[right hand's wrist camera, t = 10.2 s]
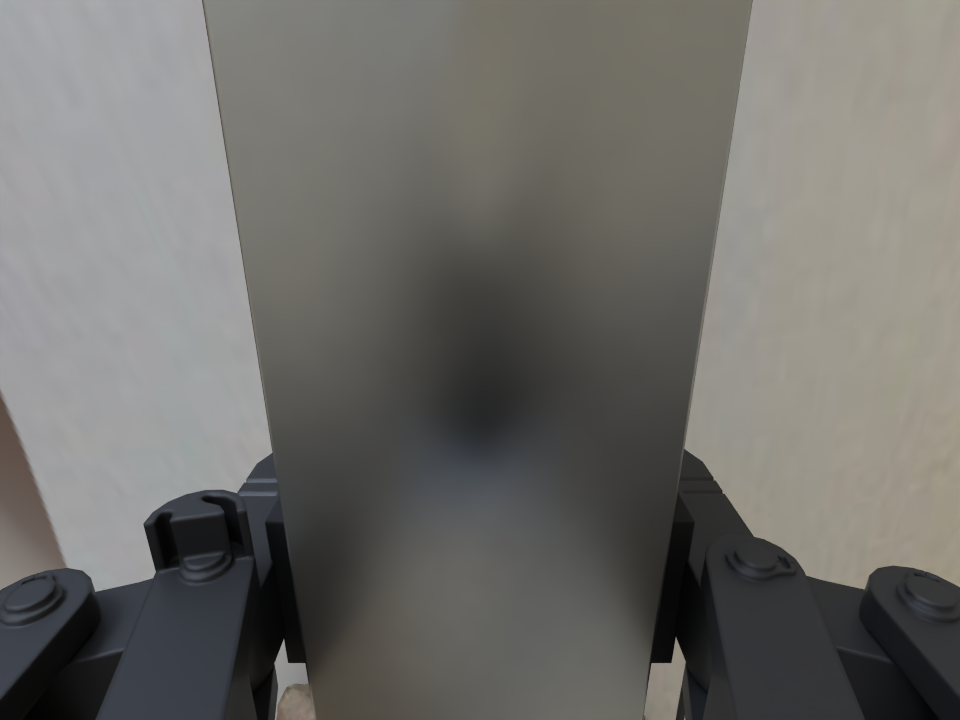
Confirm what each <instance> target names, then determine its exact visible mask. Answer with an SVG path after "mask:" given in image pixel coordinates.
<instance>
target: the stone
mask: <svg viewBox="0 0 960 720" xmlns="http://www.w3.org/2000/svg"><path fill="white" fill-rule="evenodd" d="M277 720H314V714H313V708H312V702H311V695H310V689H309V683H308V684H305V685H303V684H293V685H291V686H288V687H287V688H286V690H285V692H284V694H283V696H282V698H281V700H280V702H279V704H278V715H277ZM643 720H645V717H644V716H643Z"/></svg>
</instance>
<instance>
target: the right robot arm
mask: <svg viewBox="0 0 960 720" xmlns="http://www.w3.org/2000/svg"><path fill="white" fill-rule="evenodd" d="M144 528H145V532H146V536H147V539H148V543H149V547H150V551H151V555H152V559H153V562H154V566H155V570H156V573H155V576H154V578H153V579H149V580H146V581H142V582H139V583H134V584H130V585H125V586H121V587H116V588H112V589H107V590H103V591H98V592H95V590H94V586H93V583H92V580H91V578H90V577H89V576H88V575H87V574H86V573H84V572H83V571H81V570H75V569H69V568H64V569H56V570H48V571H44V572H41V573H37V574H35V575H31V576H28V577H26V578H23V579H21V580H19V581H17V582H15V583H13V584H11V585H9V586H7V587H5V588H3V589H2V590H0V720H275V711H276V701H277V692H278V683H277V676H276V670H275V665H274V662H275V660H276V657H277V655H278V652H279V650H280V647H281V645H282V642H283V639H284V640H285V646H286V652H287V658H288V663H305V657H304V650H303V644H302V637H301V631H300V625H299V618H298V612H297V605H296V599H295V592H294V586H293V580H292V573H291V567H290V560H289V554H288V548H287V541H286V535H285V528H284V522H283V515H282V509H281V503H280V496H279V490H278V483H277V477H276V471H275V464H274V458H273V453H272V454H270V455H269V456H267V457H266V458H265V459H263V460H262V461H260V462H259V463H257V465H256V466H255V468H254V469H253V471H252V472H251V474H250V475H249V477H248V478H247V481H246V483H244V484H243V485H242V487H241V488H240V490H239V491H238V494H237V493H233V492H230V491H226V490H204V491H200V492H195V493H191V494H186V495H184V496H181V497H179V498H177V499H174V500H172V501H169V502H167V503H166V504H164V505H163V506H161V507H160V508H159V509H157V510H156V511H154V512H153V513H152V514H151V515H150V516H149V518H148V519H147V520H146V521H145V523H144ZM675 638H677V640H678V643H679V645H680V648H681V650H682V653H683V655H684V658H685V661H686V665H685V670H684V676H683V681H682V687H681V692H680V698H679V703H678V709H677V716H676V720H684V716H685V719H686V720H960V587H958V586H956V585H954V584H952V583H950V582H948V581H946V580H944V579H942V578H940V577H938V576H936V575H934V574H931V573H928V572H924V571H922V570H918V569H915V568H909V567H900V566H888V567H882V568H878V569H876V570H875V571H874V572H873V573H872V574H871V575H869V578H868V582H867V585H866V588H865V590H864V589H859V588H855V587H850V586H845V585H841V584H836V583H832V582H827V581H823V580H819V579H816V578H812V577H809V576H806V575H805V572H804V570H803V569H802V568H801V566H800V565H799V563H798V562H797V560H796V559H795V558H794V557H792V556H791V555H790V554H789V553H787V552H786V551H785V550H783V549H782V548H781V547H779V546H777V545H774V544H772V543H770V542H768V541H766V540H764V539H760V538H756V537H754V536H753V535H752V533H751V532H750V530H749V529H748V527H747V526H746V524H745V523H744V522H743V520H742V519H741V517H740V516H739V514H738V513H737V511H736V510H735V508H734V507H733V505H732V504H731V503H730V501H729V500H728V498H727V497H726V495H725V494H723V493H722V489H721V488H720V487H719V485H718V484H717V482H716V481H714V480H713V476H712V475H711V473H710V472H709V470H708V469H707V468H706V466H705V465H704V463H703V462H702V461H701V460H699V459H698V458H696V457H695V456H694V455H692V454H691V453H689V452H688V451H686V450H685V449H684V452H683V459H682V465H681V472H680V479H679V485H678V492H677V498H676V505H675V511H674V518H673V524H672V531H671V537H670V544H669V551H668V557H667V564H666V570H665V577H664V583H663V590H662V596H661V603H660V609H659V616H658V623H657V629H656V636H655V642H654V649H653V655H652V662H651V663H671V662H672V656H673V650H674V644H675Z"/></svg>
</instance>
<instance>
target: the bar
mask: <svg viewBox="0 0 960 720" xmlns="http://www.w3.org/2000/svg"><path fill="white" fill-rule="evenodd" d="M752 1H753V0H202V2H203V9H204V15H205V21H206V28H207V34H208V41H209V47H210V54H211V60H212V66H213V73H214V79H215V86H216V92H217V98H218V105H219V111H220V118H221V124H222V131H223V137H224V143H225V150H226V156H227V163H228V169H229V175H230V182H231V188H232V195H233V201H234V208H235V214H236V220H237V227H238V233H239V240H240V246H241V252H242V259H243V265H244V272H245V278H246V284H247V291H248V297H249V304H250V310H251V317H252V323H253V329H254V336H255V342H256V349H257V355H258V361H259V368H260V374H261V381H262V387H263V394H264V400H265V406H266V413H267V419H268V426H269V432H270V438H271V445H272V451H273V458H274V464H275V471H276V477H277V483H278V490H279V496H280V503H281V509H282V515H283V522H284V528H285V535H286V541H287V548H288V554H289V560H290V567H291V573H292V580H293V586H294V592H295V599H296V605H297V612H298V618H299V625H300V631H301V637H302V644H303V650H304V657H305V663H306V669H307V676H308V682H309V689H310V695H311V702H312V708H313V714H314V720H643V714H644V708H645V701H646V694H647V688H648V681H649V675H650V668H651V662H652V655H653V649H654V642H655V636H656V629H657V623H658V616H659V609H660V603H661V596H662V590H663V583H664V577H665V570H666V564H667V557H668V551H669V544H670V537H671V531H672V524H673V518H674V511H675V505H676V498H677V492H678V485H679V479H680V472H681V465H682V459H683V452H684V446H685V439H686V433H687V426H688V420H689V413H690V407H691V400H692V393H693V387H694V380H695V374H696V367H697V361H698V354H699V348H700V341H701V335H702V328H703V322H704V315H705V308H706V302H707V295H708V289H709V282H710V276H711V269H712V263H713V256H714V250H715V243H716V236H717V230H718V223H719V217H720V210H721V204H722V197H723V191H724V184H725V178H726V171H727V164H728V158H729V151H730V145H731V138H732V132H733V125H734V119H735V112H736V106H737V99H738V92H739V86H740V79H741V73H742V66H743V60H744V53H745V47H746V40H747V34H748V27H749V20H750V14H751V7H752Z"/></svg>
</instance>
